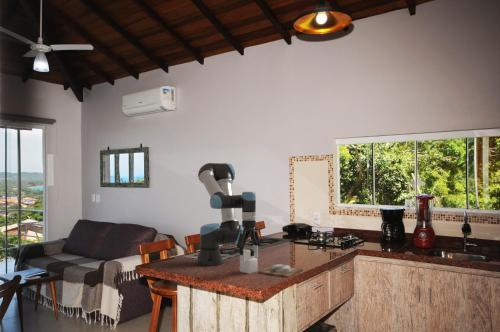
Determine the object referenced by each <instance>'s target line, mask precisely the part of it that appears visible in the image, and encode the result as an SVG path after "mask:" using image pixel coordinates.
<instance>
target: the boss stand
mask: <svg viewBox="0 0 500 332" xmlns="http://www.w3.org/2000/svg"><path fill="white" fill-rule="evenodd" d="M303 270H304V269H303V268H299V267H298V268H297V267H292V266H290V265H287V264H282V263H281V264H278V263H277V264H272V265H271V266H268V267H265V268H263V269H259V270H258V271H257V272H258V274H260V275H261V274H263V275H267V274H268V276H273V277H280V276H281V278H288V279H289V278H291V277H293V276H295V275H297V274H299V273H301V272H303Z"/></svg>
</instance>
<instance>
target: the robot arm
mask: <svg viewBox="0 0 500 332" xmlns="http://www.w3.org/2000/svg"><path fill="white" fill-rule="evenodd" d="M235 175H236V171H235V167H234V165H232V164H231V163H226V162H223V163H222V162H219V163H218V162H217V163H216V162H209V163H205V164H203V165H201V167H200V168H199V170H198V173H197V177H198V180H199V182H201V183H202V184H203V185H204V188H205V190H206V191H207V193H208V195H209V196H210V199H209V205H210V208H212V209H215V210H220V213H221V220H222V221H221V222H220V223H217V222H216V223H214V222H213V223H206V224H203V225H202V226H200V230H199V252H198V255H197V259H196V264H197V265H199V266H204V267H207V266H208V267H209V266H219V265H222V264H223V258H222V256H221V255H222V254H221V251H220V246H224V245H236V244H237V245H236V248H237V249H239V262H240V261H245V249H246V248H245V246H246V244H247V242H248V241H247V240H249V238H250V239H251V241H252V243H253V244H252V250H254V258H259V246H260V245H261V240H260V237H259V233H258V227H257V221H256V218H257V217H256V216H257V213H256V208H257V207H256V205H257V204H256V203H257V201H256V199H257V198H256V192H255V191H243V192H242V193H241V194H236V195H235V194H233V190H232V184H233V182H234V180H235V178H236V176H235ZM235 209H241V219H242V221H241V224H240V222H239V220H238V219H237V218H236V211H235Z"/></svg>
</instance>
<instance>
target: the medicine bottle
mask: <svg viewBox="0 0 500 332" xmlns="http://www.w3.org/2000/svg"><path fill="white" fill-rule="evenodd" d="M244 249H245V261H240V260H239V273H244V274H249V275H251V274H254V273H257V272H258V271H259V268H258V257H254V250H253V248H244Z"/></svg>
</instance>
